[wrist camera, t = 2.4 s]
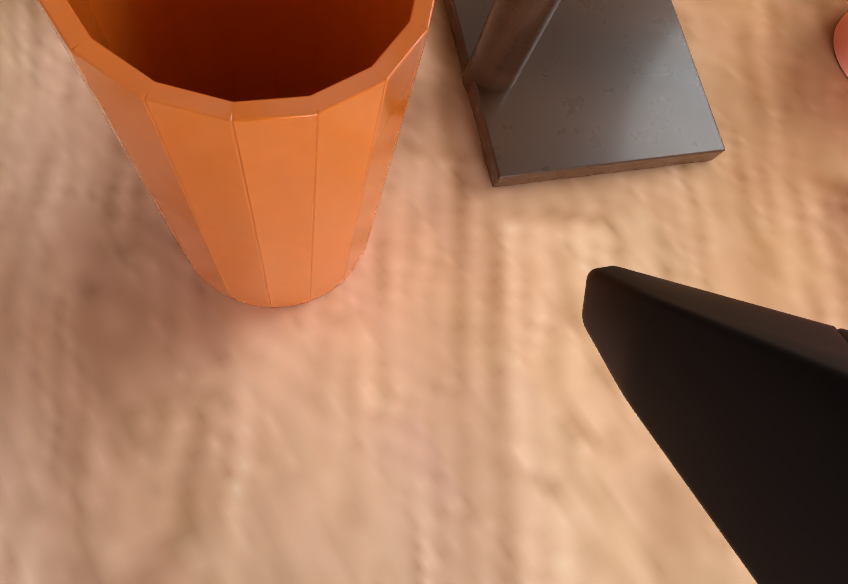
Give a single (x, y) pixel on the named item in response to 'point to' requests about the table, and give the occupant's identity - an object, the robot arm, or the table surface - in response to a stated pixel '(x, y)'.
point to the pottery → (842, 42)
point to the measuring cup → (254, 124)
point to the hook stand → (580, 87)
